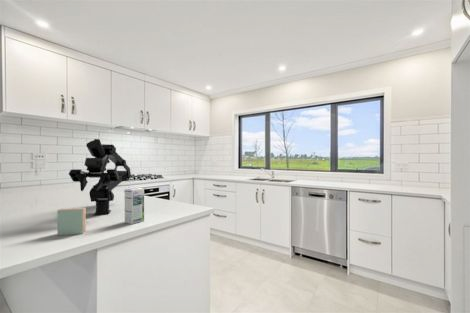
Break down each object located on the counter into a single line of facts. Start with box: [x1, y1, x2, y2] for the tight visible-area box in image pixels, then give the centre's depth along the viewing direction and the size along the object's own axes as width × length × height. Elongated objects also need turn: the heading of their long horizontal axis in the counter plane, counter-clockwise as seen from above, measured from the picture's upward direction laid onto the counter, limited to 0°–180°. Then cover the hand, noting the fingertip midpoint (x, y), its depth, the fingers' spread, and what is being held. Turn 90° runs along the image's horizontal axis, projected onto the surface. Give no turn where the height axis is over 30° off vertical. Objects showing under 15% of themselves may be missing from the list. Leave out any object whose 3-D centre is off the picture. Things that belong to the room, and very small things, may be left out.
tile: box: [56, 207, 87, 236], centre depth 77 cm, size 2×8×9 cm, turn 103°
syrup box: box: [124, 186, 145, 225], centre depth 91 cm, size 6×6×14 cm
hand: (88, 190), depth 90 cm, fingers open, 5 cm apart
